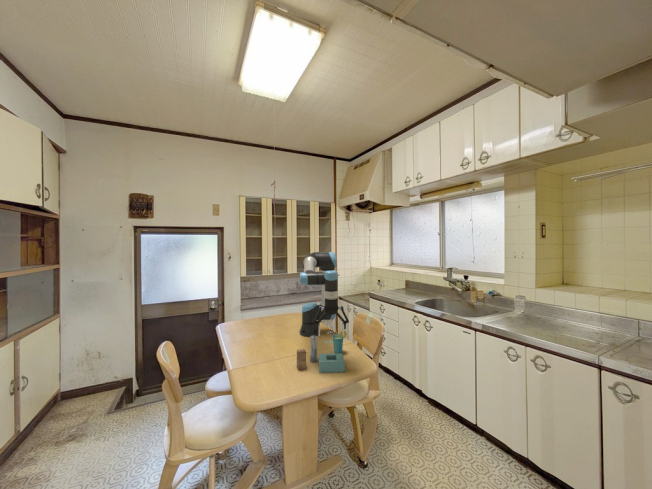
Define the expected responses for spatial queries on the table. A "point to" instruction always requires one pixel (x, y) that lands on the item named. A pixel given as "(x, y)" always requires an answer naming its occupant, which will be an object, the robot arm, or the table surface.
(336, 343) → the cup
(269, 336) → the table surface
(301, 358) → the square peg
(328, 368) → the socket block
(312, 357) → the round dowel
